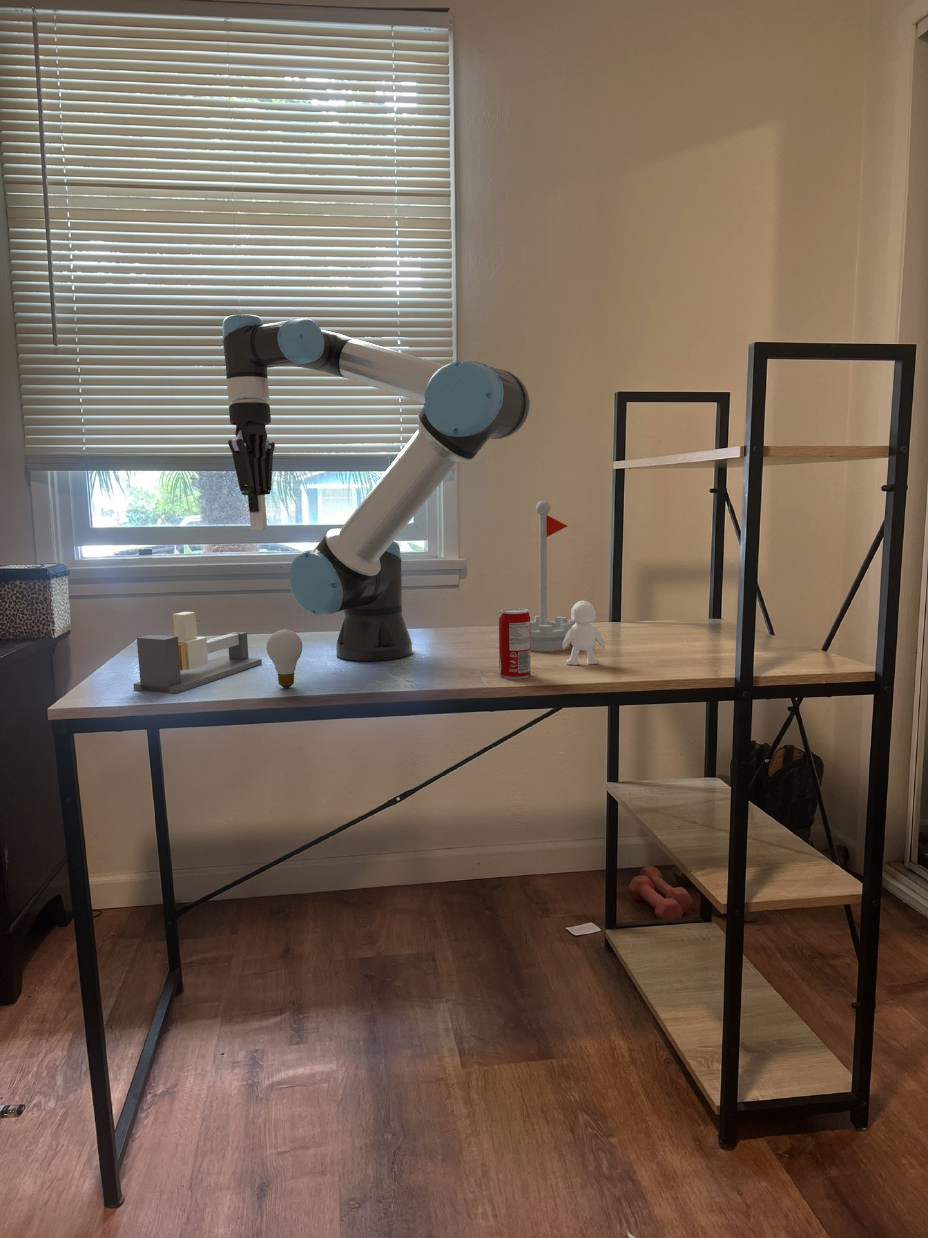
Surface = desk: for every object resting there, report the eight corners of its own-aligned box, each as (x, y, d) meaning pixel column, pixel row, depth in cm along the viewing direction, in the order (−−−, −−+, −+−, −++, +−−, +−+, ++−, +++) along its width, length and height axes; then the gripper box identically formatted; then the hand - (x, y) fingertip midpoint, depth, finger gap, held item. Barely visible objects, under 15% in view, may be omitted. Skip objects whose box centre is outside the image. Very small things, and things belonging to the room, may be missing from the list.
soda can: (508, 671, 151) (508, 605, 149) (535, 674, 148) (535, 607, 146) (493, 677, 146) (493, 609, 144) (521, 680, 144) (521, 611, 142)
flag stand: (503, 650, 171) (501, 501, 166) (523, 638, 182) (522, 500, 178) (564, 654, 166) (565, 501, 161) (581, 642, 177) (582, 499, 173)
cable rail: (261, 664, 161) (259, 617, 159) (176, 693, 139) (172, 640, 137) (223, 661, 164) (220, 615, 163) (134, 689, 142) (129, 637, 141)
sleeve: (208, 663, 149) (204, 611, 148) (189, 669, 145) (185, 616, 143) (186, 662, 151) (182, 610, 149) (167, 667, 146) (163, 614, 145)
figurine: (563, 667, 153) (563, 602, 151) (559, 662, 158) (559, 599, 156) (606, 666, 154) (607, 601, 152) (601, 660, 158) (602, 598, 156)
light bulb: (271, 684, 144) (268, 627, 142) (306, 683, 144) (303, 626, 143) (266, 692, 138) (263, 633, 137) (302, 691, 139) (299, 632, 137)
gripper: (250, 407, 164) (259, 528, 167) (211, 401, 151) (222, 532, 155) (284, 404, 161) (293, 527, 165) (247, 398, 149) (258, 530, 153)
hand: (259, 529), depth 160 cm, fingers closed
